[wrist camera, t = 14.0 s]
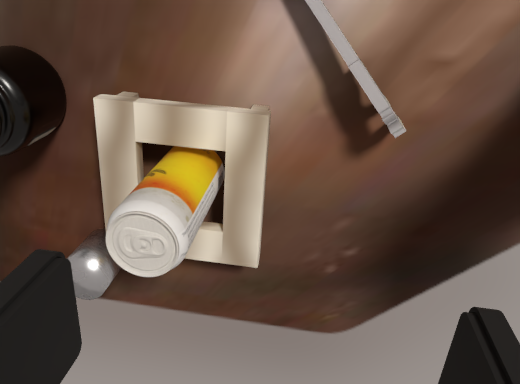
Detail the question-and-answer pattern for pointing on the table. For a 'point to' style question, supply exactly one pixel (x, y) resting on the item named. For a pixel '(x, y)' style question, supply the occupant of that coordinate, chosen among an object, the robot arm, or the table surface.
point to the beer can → (164, 212)
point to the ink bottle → (27, 98)
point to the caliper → (357, 67)
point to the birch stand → (194, 136)
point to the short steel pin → (92, 266)
